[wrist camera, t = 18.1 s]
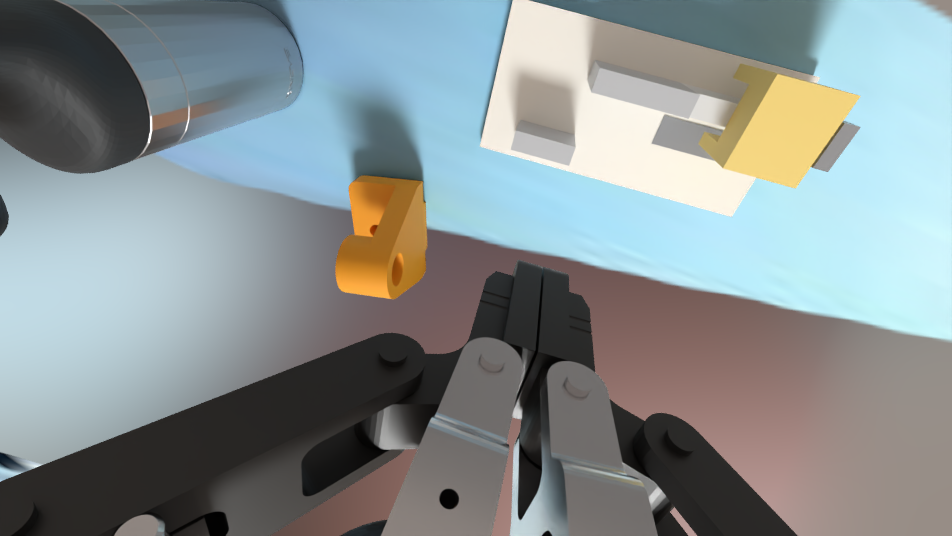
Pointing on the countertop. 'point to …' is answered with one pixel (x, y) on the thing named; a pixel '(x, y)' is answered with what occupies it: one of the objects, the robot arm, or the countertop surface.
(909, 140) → the countertop surface
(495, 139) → the rail plate
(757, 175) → the yellow block
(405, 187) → the bracket
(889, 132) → the countertop surface
